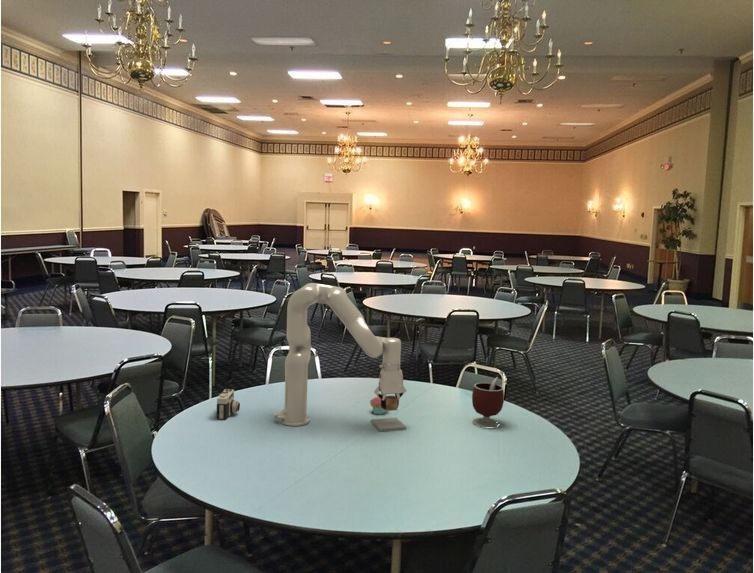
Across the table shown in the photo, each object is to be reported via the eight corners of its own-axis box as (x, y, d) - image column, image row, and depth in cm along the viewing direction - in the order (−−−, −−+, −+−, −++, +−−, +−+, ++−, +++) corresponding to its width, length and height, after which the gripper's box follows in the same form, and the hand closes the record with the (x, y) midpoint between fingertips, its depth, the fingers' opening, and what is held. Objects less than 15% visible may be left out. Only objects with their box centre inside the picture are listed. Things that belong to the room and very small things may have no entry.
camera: (234, 420, 251) (235, 398, 250) (215, 419, 251) (216, 397, 250) (242, 410, 265) (242, 388, 264) (224, 409, 265) (224, 388, 264)
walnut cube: (386, 410, 250) (386, 399, 249) (382, 407, 255) (382, 396, 254) (397, 410, 252) (397, 398, 251) (392, 406, 256) (393, 395, 256)
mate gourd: (493, 431, 253) (496, 386, 251) (464, 423, 261) (467, 380, 259) (508, 422, 265) (511, 379, 263) (480, 415, 274) (483, 373, 271)
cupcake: (380, 416, 265) (381, 391, 264) (365, 412, 270) (367, 387, 269) (391, 412, 272) (393, 387, 271) (377, 408, 277) (378, 383, 276)
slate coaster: (379, 431, 246) (380, 428, 246) (370, 422, 258) (370, 419, 258) (406, 429, 251) (406, 426, 250) (395, 420, 262) (396, 417, 262)
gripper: (375, 370, 245) (373, 412, 247) (413, 367, 251) (411, 409, 253) (369, 365, 252) (368, 406, 254) (406, 363, 258) (404, 404, 260)
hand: (389, 407), depth 253 cm, fingers closed on walnut cube, 5 cm apart
